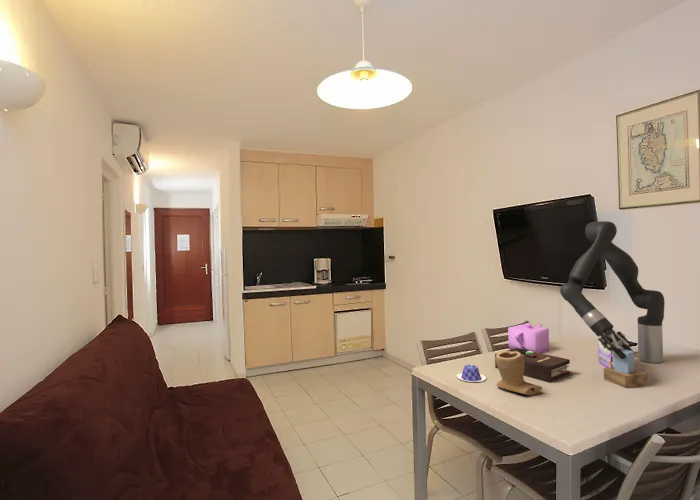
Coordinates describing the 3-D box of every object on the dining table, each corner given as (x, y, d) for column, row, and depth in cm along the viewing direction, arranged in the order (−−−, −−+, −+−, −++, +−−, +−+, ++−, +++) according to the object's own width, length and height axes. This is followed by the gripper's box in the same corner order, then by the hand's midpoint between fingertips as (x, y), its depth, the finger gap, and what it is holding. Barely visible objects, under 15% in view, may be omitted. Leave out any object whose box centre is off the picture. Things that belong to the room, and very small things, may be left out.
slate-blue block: (620, 368, 160) (620, 348, 160) (634, 371, 156) (634, 351, 156) (614, 370, 158) (614, 350, 158) (628, 373, 154) (627, 353, 154)
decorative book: (553, 367, 156) (488, 351, 181) (553, 386, 157) (489, 368, 181) (576, 358, 167) (513, 344, 192) (577, 375, 168) (513, 360, 192)
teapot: (556, 348, 209) (555, 322, 209) (530, 357, 195) (529, 329, 195) (529, 342, 222) (528, 318, 222) (503, 350, 208) (502, 324, 208)
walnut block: (624, 378, 163) (624, 366, 163) (646, 386, 153) (646, 373, 153) (604, 380, 161) (603, 368, 161) (625, 389, 151) (625, 376, 151)
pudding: (482, 385, 159) (481, 372, 159) (453, 380, 166) (452, 368, 166) (488, 376, 169) (488, 364, 169) (461, 372, 176) (461, 360, 176)
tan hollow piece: (489, 388, 155) (488, 351, 154) (507, 382, 161) (506, 346, 161) (525, 400, 142) (524, 359, 142) (543, 393, 149) (542, 354, 149)
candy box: (626, 372, 169) (625, 334, 169) (611, 371, 170) (610, 334, 170) (611, 362, 182) (611, 327, 182) (597, 362, 184) (597, 327, 183)
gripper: (594, 319, 160) (626, 354, 150) (613, 315, 167) (645, 348, 157) (581, 329, 164) (612, 364, 154) (600, 325, 171) (631, 358, 161)
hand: (628, 356), depth 155 cm, fingers open, 6 cm apart
